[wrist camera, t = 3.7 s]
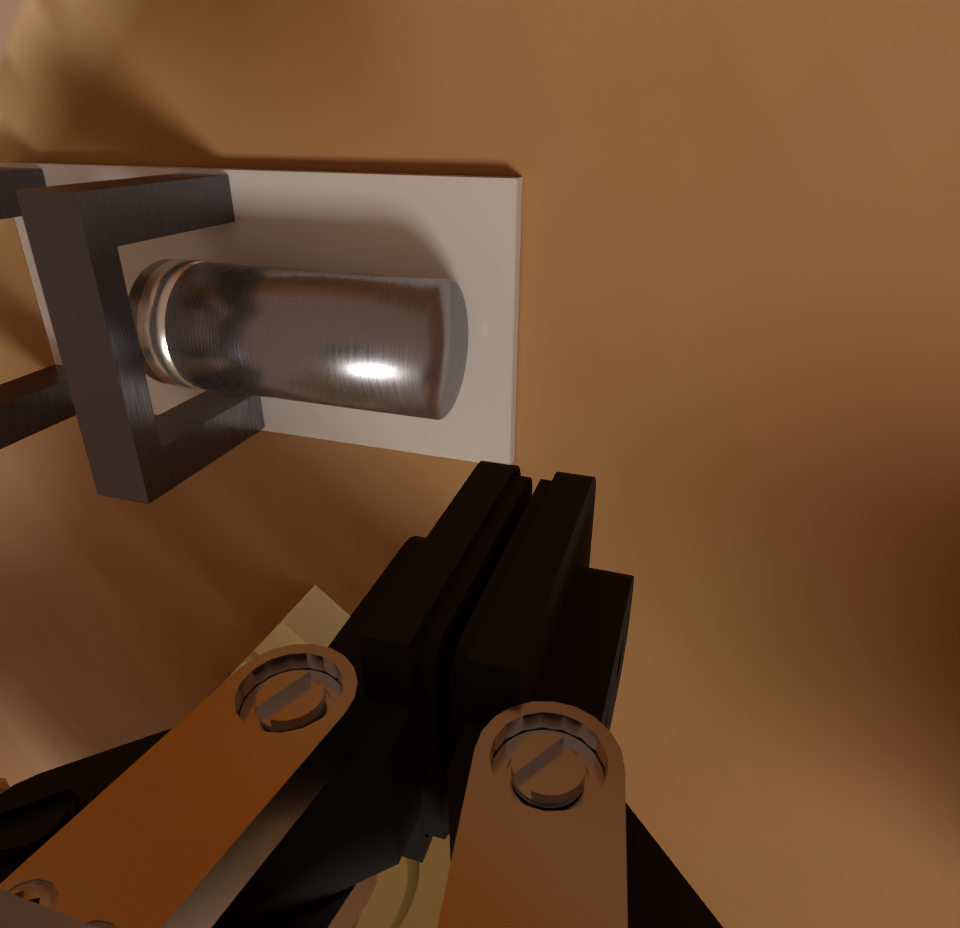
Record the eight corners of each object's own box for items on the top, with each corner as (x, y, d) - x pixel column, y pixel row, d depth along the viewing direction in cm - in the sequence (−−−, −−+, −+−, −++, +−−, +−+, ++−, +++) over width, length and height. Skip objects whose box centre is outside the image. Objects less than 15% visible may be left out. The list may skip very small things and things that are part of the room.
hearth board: (522, 176, 21) (517, 178, 21) (514, 460, 25) (509, 466, 25) (13, 161, 27) (-1, 162, 26) (76, 396, 31) (65, 401, 30)
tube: (468, 266, 22) (415, 295, 19) (468, 393, 24) (421, 443, 20) (202, 248, 25) (110, 270, 21) (221, 363, 27) (140, 402, 23)
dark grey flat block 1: (228, 174, 23) (74, 192, 18) (264, 427, 28) (148, 504, 22) (178, 172, 24) (15, 189, 19) (221, 420, 28) (97, 494, 23)
